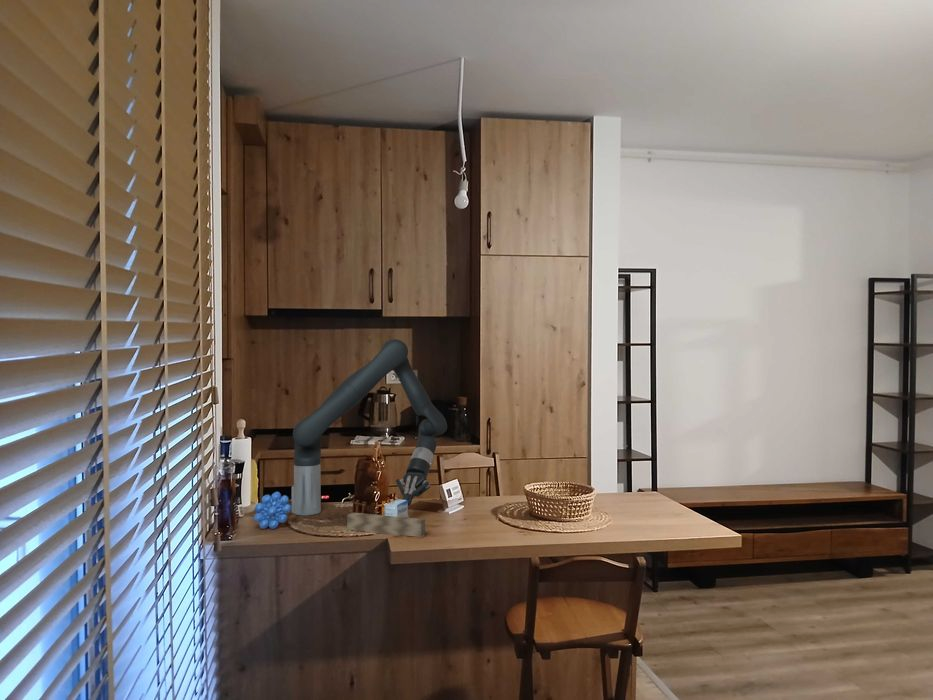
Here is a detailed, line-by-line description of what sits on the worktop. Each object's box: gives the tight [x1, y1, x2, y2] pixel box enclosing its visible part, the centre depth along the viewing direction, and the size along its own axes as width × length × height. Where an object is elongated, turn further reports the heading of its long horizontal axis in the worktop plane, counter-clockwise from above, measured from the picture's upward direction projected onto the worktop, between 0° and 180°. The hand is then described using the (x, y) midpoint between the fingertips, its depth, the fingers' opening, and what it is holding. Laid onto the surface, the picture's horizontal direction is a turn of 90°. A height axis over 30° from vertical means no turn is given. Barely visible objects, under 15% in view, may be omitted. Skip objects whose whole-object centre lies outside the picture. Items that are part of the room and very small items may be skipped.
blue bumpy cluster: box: [253, 491, 292, 530], centre depth 212 cm, size 12×7×12 cm, turn 101°
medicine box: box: [384, 499, 409, 518], centre depth 211 cm, size 8×4×9 cm, turn 159°
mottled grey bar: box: [346, 511, 426, 538], centre depth 207 cm, size 26×3×5 cm, turn 70°
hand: (405, 505), depth 220 cm, fingers closed
